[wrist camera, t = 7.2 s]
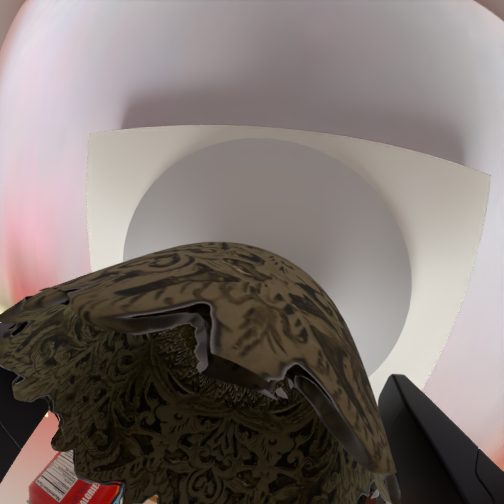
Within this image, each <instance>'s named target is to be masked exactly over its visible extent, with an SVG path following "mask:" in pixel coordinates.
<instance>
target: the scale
mask: <svg viewBox="0 0 504 504" xmlns="http://www.w3.org/2000/svg"><path fill="white" fill-rule="evenodd" d="M490 178H491V175H488V174H486V173H483V172H480V171H478V170H475V169H472V168H469V167H467V166H464V165H461V164H458V163H455V162H452V161H448V160H445V159H442V158H439V157H435V156H432V155H428V154H425V153H421V152H417V151H414V150H410V149H406V148H402V147H397V146H393V145H389V144H384V143H379V142H375V141H370V140H364V139H359V138H354V137H348V136H342V135H335V134H329V133H321V132H314V131H305V130H296V129H286V128H275V127H260V126H240V125H176V126H156V127H142V128H131V129H121V130H112V131H104V132H97V133H90V134H89V141H88V156H87V225H88V241H89V253H90V263H91V272H95V271H98V270H101V269H104V268H107V267H110V266H113V265H116V264H119V263H122V262H125V261H128V260H131V259H134V258H137V257H140V256H144V255H147V254H150V253H153V252H157V251H161V250H165V249H169V248H173V247H176V246H180V245H186V244H193V243H201V242H233V243H241V244H246V245H251V246H255V247H259V248H262V249H265V250H267V251H270V252H273V253H275V254H277V255H279V256H281V257H283V258H285V259H287V260H289V261H290V262H292V263H293V264H295V265H297V266H298V267H300V268H301V269H302V270H303V271H305V272H306V273H307V274H309V275H310V276H311V277H312V278H313V279H314V280H315V281H316V282H317V283H318V284H319V285H320V286H321V287H322V288H323V289H324V291H325V292H326V293H327V294H328V296H329V297H330V298H331V299H332V301H333V302H334V304H335V305H336V307H337V309H338V310H339V312H340V313H341V315H342V317H343V319H344V320H345V322H346V324H347V326H348V328H349V330H350V333H351V335H352V337H353V340H354V342H355V344H356V347H357V349H358V352H359V354H360V357H361V360H362V362H363V365H364V368H365V370H366V373H367V376H368V379H369V382H370V385H371V388H372V391H373V394H374V397H375V400H376V403H377V406H378V399H379V395H380V393H381V391H382V389H383V387H384V385H385V383H386V381H387V379H388V377H389V376H390V375H391V374H403V375H405V376H406V377H407V378H409V379H410V380H411V381H412V382H413V383H414V384H415V385H416V386H417V387H418V388H419V389H420V390H422V388H423V387H424V385H425V383H426V381H427V379H428V378H429V376H430V374H431V372H432V370H433V368H434V366H435V364H436V362H437V360H438V358H439V356H440V354H441V352H442V350H443V348H444V346H445V344H446V341H447V339H448V337H449V335H450V332H451V330H452V328H453V325H454V323H455V320H456V318H457V315H458V313H459V310H460V307H461V305H462V302H463V299H464V296H465V293H466V290H467V287H468V284H469V281H470V278H471V274H472V271H473V268H474V264H475V260H476V257H477V253H478V249H479V244H480V240H481V236H482V231H483V226H484V221H485V215H486V209H487V203H488V195H489V187H490Z"/></svg>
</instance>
